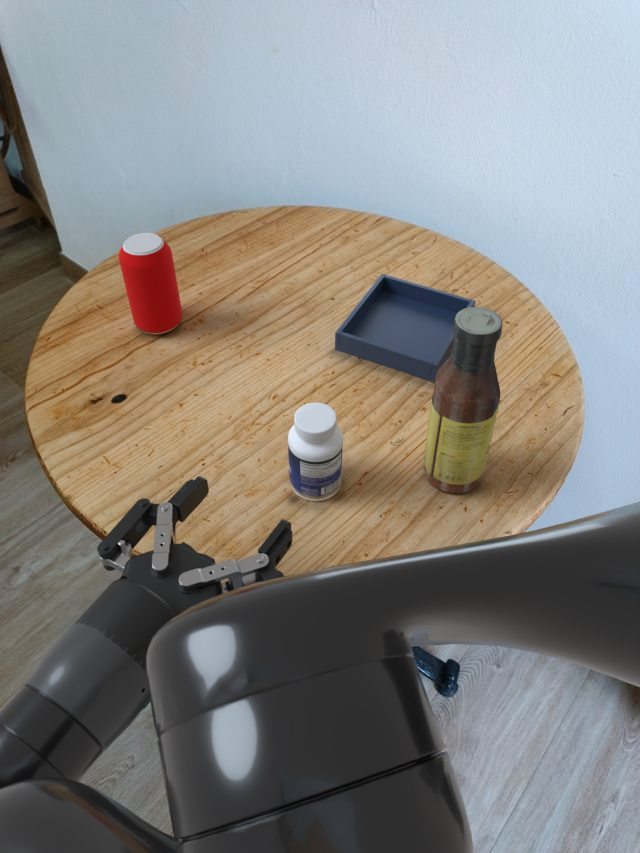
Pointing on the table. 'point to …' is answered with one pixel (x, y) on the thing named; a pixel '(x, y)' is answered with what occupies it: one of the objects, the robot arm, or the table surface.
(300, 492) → the pill bottle
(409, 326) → the blue tray
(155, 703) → the robot arm
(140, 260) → the beverage can
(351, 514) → the table surface
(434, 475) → the sauce bottle
